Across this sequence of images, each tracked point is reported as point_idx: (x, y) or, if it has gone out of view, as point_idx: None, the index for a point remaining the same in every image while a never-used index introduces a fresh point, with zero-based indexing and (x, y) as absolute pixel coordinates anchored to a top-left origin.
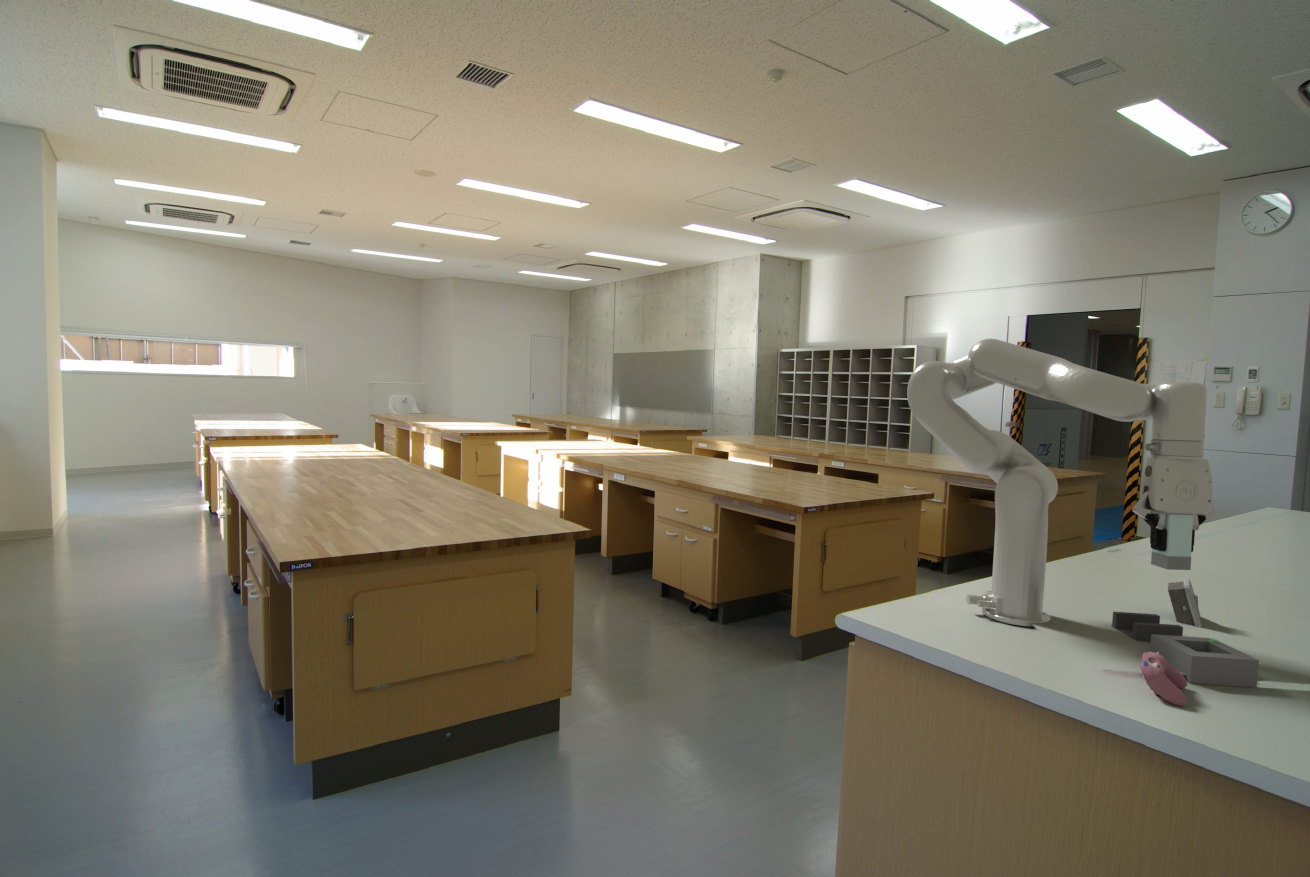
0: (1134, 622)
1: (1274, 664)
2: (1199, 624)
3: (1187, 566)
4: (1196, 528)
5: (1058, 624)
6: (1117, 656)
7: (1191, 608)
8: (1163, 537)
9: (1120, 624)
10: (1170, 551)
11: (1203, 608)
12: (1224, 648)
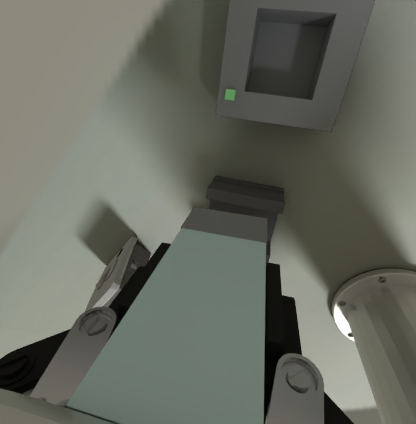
0: (281, 211)
1: (124, 115)
2: (131, 240)
3: (200, 213)
4: (94, 316)
5: (333, 276)
6: (373, 139)
7: (128, 259)
8: (281, 308)
9: None
10: (256, 251)
11: (73, 301)
12: (245, 48)
